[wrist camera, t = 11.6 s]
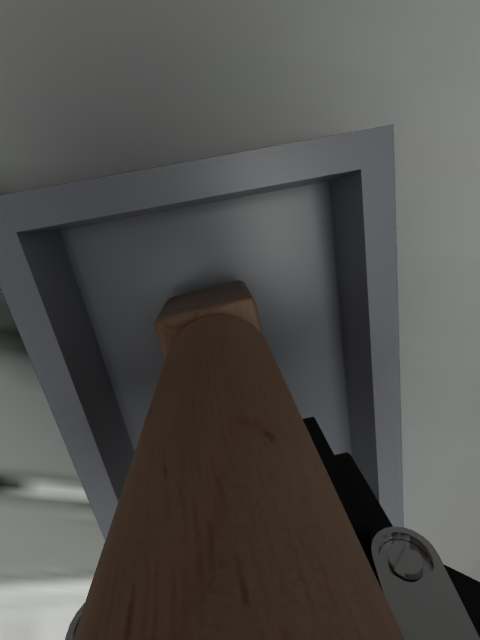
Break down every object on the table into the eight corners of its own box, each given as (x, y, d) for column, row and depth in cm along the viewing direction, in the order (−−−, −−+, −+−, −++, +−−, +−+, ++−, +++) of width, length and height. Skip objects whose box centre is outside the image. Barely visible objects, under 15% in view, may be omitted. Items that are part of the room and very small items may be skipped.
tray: (31, 207, 14) (-36, 201, 10) (345, 150, 15) (393, 124, 11) (150, 541, 20) (135, 614, 16) (368, 494, 21) (404, 555, 17)
